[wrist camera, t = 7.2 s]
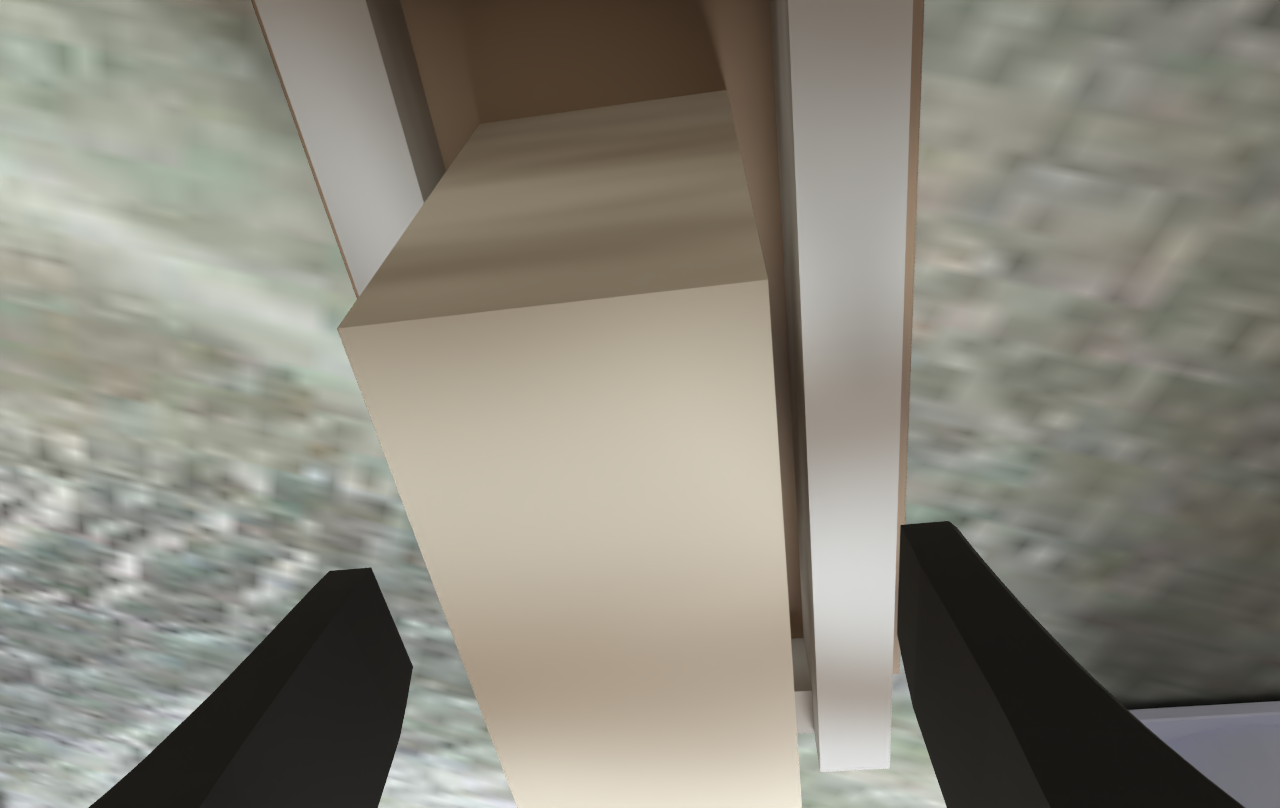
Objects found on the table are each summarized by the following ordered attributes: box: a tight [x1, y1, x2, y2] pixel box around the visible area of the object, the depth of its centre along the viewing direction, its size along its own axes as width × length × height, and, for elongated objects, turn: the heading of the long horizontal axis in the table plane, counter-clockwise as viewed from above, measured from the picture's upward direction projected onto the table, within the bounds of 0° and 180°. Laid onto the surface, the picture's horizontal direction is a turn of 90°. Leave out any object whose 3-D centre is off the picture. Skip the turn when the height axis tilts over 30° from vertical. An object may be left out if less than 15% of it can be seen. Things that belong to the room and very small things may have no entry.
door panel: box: [337, 90, 802, 808], centre depth 13 cm, size 10×4×7 cm, turn 8°
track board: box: [251, 0, 924, 772], centre depth 16 cm, size 18×10×4 cm, turn 8°
